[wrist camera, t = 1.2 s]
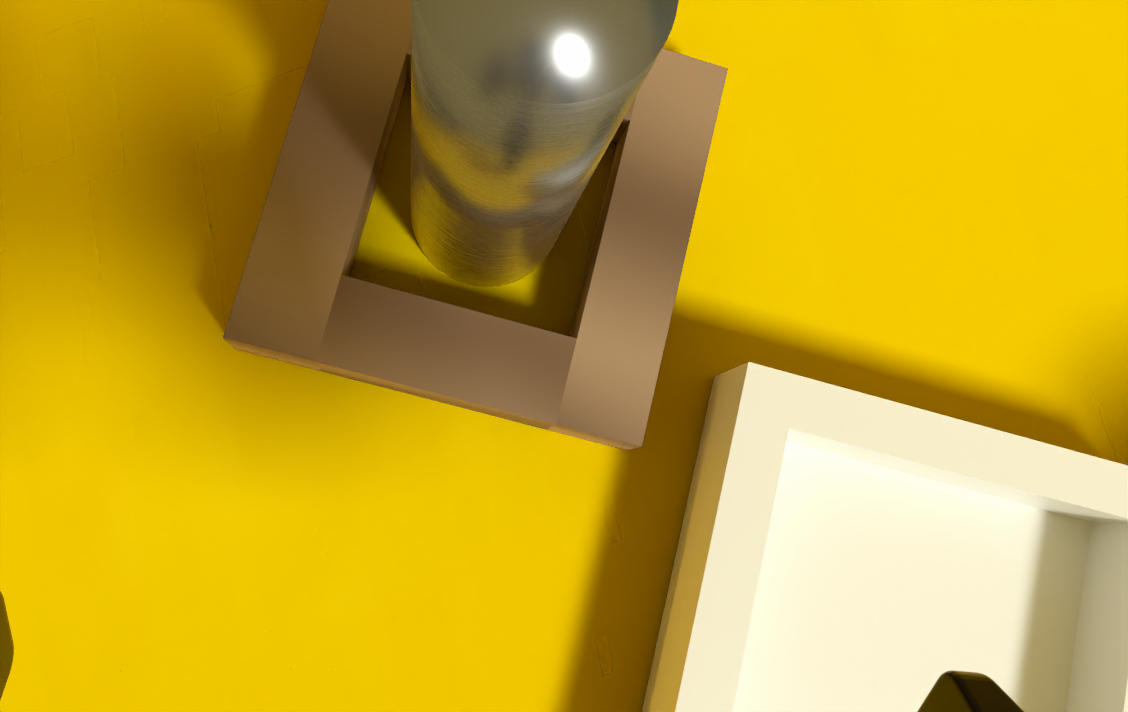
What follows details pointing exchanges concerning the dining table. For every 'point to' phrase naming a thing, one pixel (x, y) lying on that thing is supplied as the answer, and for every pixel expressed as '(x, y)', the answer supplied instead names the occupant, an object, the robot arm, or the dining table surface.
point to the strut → (517, 120)
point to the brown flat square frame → (451, 333)
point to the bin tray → (887, 560)
